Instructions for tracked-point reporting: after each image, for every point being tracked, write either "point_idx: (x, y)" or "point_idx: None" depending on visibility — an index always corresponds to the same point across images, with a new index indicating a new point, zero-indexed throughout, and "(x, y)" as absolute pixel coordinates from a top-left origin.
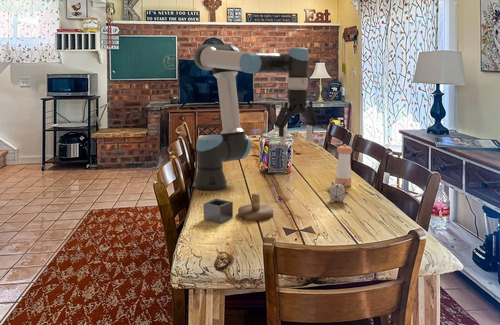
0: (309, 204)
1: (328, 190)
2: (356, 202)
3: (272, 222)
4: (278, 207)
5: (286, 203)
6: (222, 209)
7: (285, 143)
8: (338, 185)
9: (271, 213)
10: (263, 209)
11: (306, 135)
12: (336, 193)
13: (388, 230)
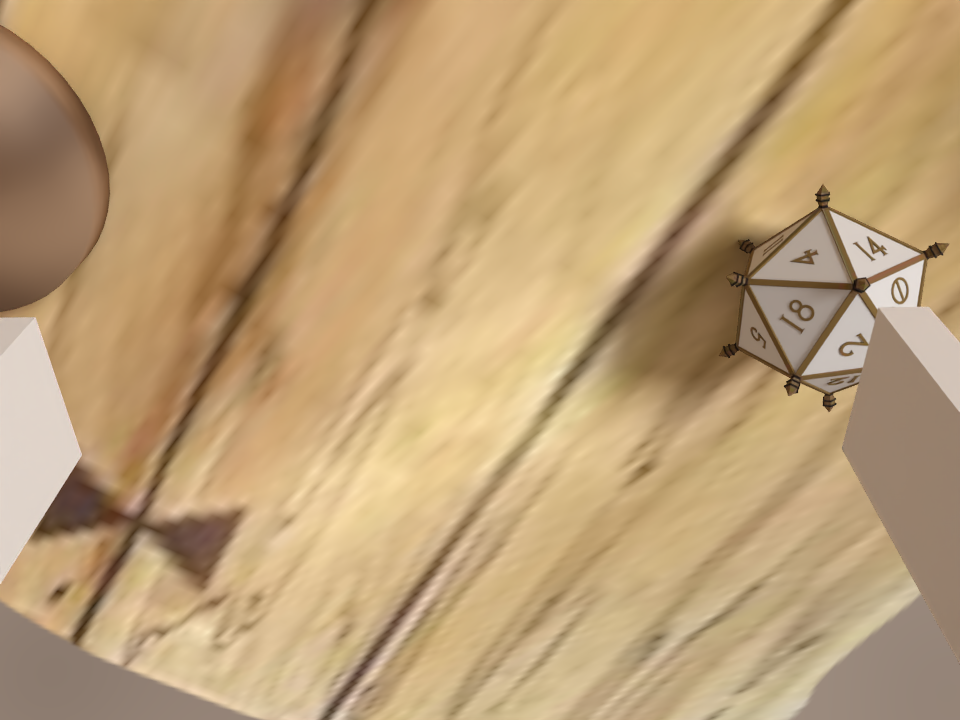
0: (540, 188)
1: (753, 280)
2: None
3: None
4: (235, 101)
5: (372, 42)
6: None
7: (58, 481)
8: (831, 367)
9: (47, 292)
10: (1, 206)
11: (947, 402)
12: (754, 356)
13: (573, 715)
